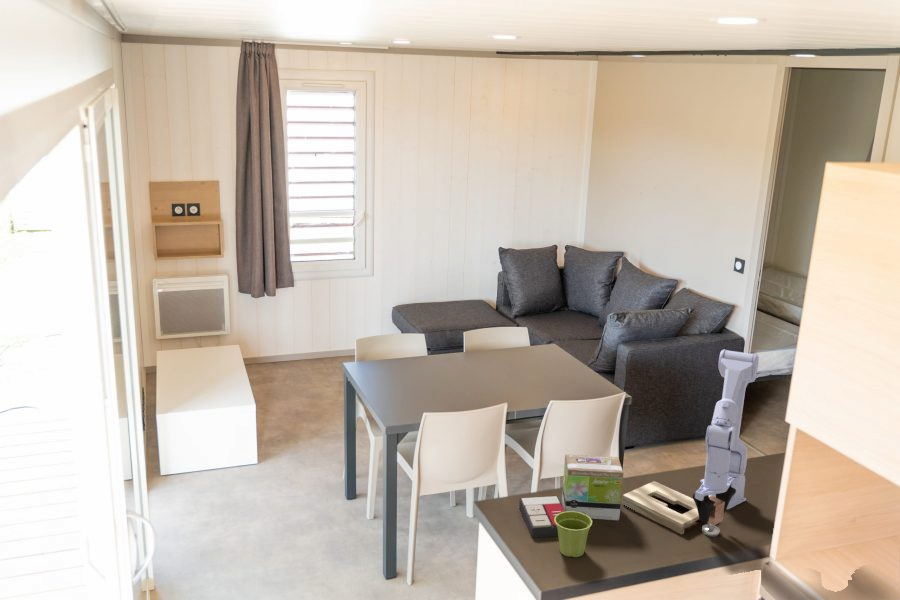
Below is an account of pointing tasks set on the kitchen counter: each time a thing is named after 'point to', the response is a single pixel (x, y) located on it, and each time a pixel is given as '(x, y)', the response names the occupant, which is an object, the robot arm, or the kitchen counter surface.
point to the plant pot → (572, 532)
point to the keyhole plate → (662, 505)
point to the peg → (714, 518)
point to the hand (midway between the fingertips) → (712, 516)
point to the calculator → (541, 515)
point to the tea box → (593, 486)
